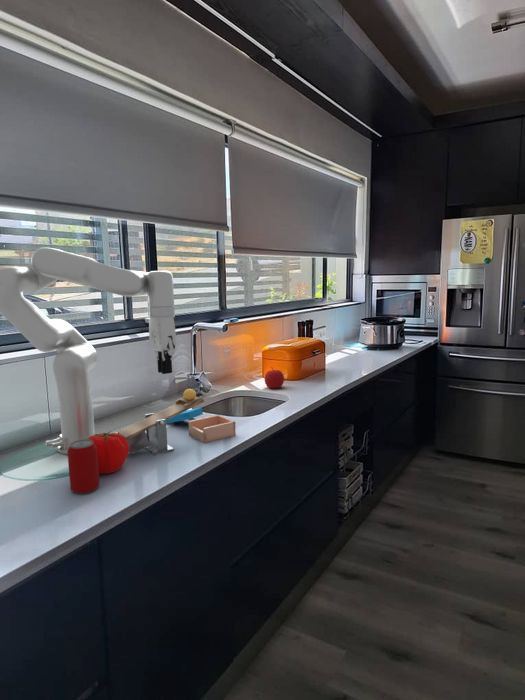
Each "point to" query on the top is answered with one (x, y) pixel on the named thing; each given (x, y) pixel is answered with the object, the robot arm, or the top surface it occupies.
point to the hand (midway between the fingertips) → (165, 372)
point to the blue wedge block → (186, 415)
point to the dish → (212, 428)
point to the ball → (189, 395)
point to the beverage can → (83, 466)
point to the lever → (154, 423)
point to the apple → (274, 379)
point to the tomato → (110, 451)
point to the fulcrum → (158, 437)
